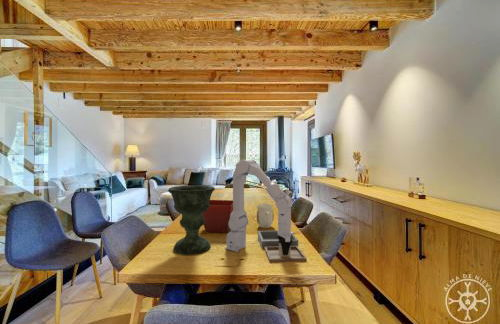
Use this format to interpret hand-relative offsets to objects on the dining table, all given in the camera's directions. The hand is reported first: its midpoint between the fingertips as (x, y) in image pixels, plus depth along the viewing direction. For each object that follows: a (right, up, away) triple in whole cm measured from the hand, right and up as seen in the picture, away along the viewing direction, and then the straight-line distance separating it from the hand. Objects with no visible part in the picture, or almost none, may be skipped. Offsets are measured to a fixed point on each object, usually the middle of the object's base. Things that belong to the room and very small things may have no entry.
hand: (284, 252), depth 124 cm
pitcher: (-6, -1, +51) cm, 51 cm away
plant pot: (-35, -1, +44) cm, 57 cm away
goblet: (-44, -2, +11) cm, 45 cm away
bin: (-1, -1, +19) cm, 19 cm away
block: (0, -1, 0) cm, 1 cm away
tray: (0, -2, 0) cm, 2 cm away
